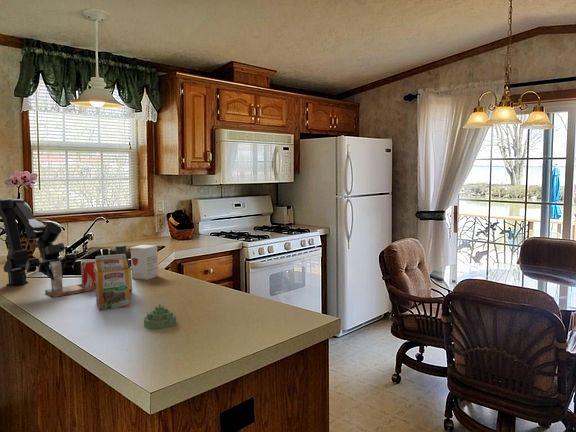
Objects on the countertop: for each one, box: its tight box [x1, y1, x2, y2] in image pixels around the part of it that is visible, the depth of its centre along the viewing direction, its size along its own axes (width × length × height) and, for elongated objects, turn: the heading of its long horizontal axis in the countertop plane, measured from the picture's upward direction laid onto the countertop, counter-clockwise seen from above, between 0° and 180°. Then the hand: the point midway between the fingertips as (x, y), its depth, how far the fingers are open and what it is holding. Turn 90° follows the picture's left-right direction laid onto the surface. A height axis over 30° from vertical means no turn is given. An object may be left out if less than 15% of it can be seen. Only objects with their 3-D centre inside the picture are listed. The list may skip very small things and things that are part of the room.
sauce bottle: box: [115, 244, 133, 294], centre depth 195 cm, size 7×6×20 cm
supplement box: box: [130, 244, 159, 281], centre depth 225 cm, size 9×9×15 cm
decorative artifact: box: [143, 303, 177, 331], centre depth 154 cm, size 10×7×10 cm
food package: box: [94, 253, 131, 312], centre depth 177 cm, size 11×11×19 cm
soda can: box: [80, 259, 96, 288], centre depth 205 cm, size 7×7×12 cm
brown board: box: [44, 261, 96, 298], centre depth 201 cm, size 22×10×13 cm, turn 135°
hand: (57, 278), depth 195 cm, fingers closed on brown board, 3 cm apart
